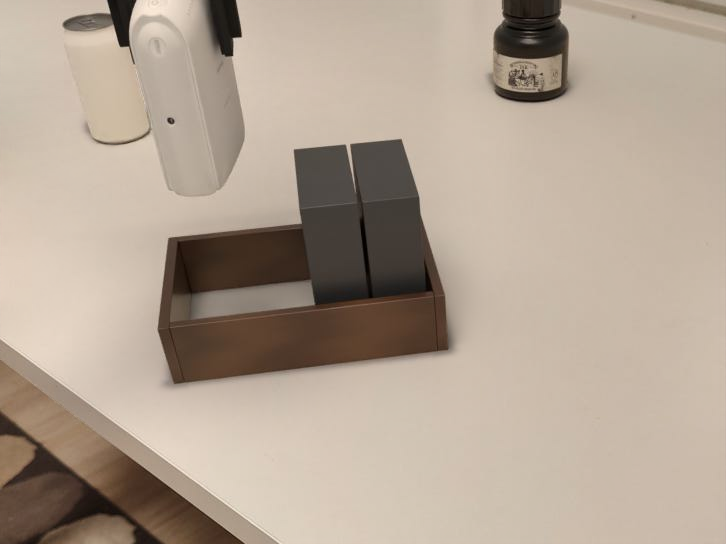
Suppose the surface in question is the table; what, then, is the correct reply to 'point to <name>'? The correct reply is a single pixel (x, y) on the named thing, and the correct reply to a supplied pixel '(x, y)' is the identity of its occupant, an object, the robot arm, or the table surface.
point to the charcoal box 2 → (388, 218)
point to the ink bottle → (530, 50)
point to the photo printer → (187, 93)
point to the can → (105, 79)
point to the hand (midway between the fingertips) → (184, 50)
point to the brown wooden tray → (283, 310)
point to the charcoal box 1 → (330, 224)
